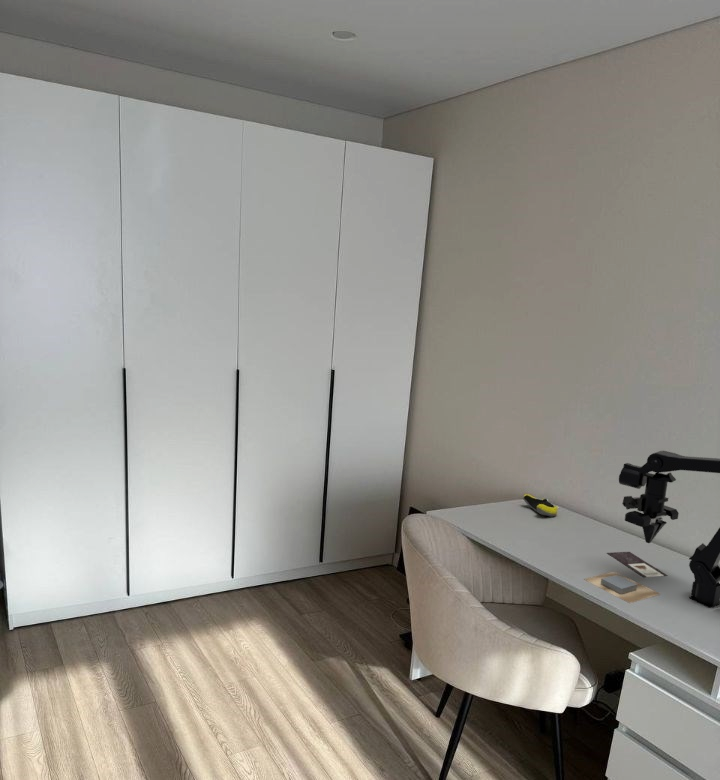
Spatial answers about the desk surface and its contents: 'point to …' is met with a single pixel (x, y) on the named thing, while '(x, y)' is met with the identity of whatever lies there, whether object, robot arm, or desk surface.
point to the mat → (630, 596)
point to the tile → (619, 584)
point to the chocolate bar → (636, 564)
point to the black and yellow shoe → (541, 505)
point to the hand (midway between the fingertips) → (648, 542)
